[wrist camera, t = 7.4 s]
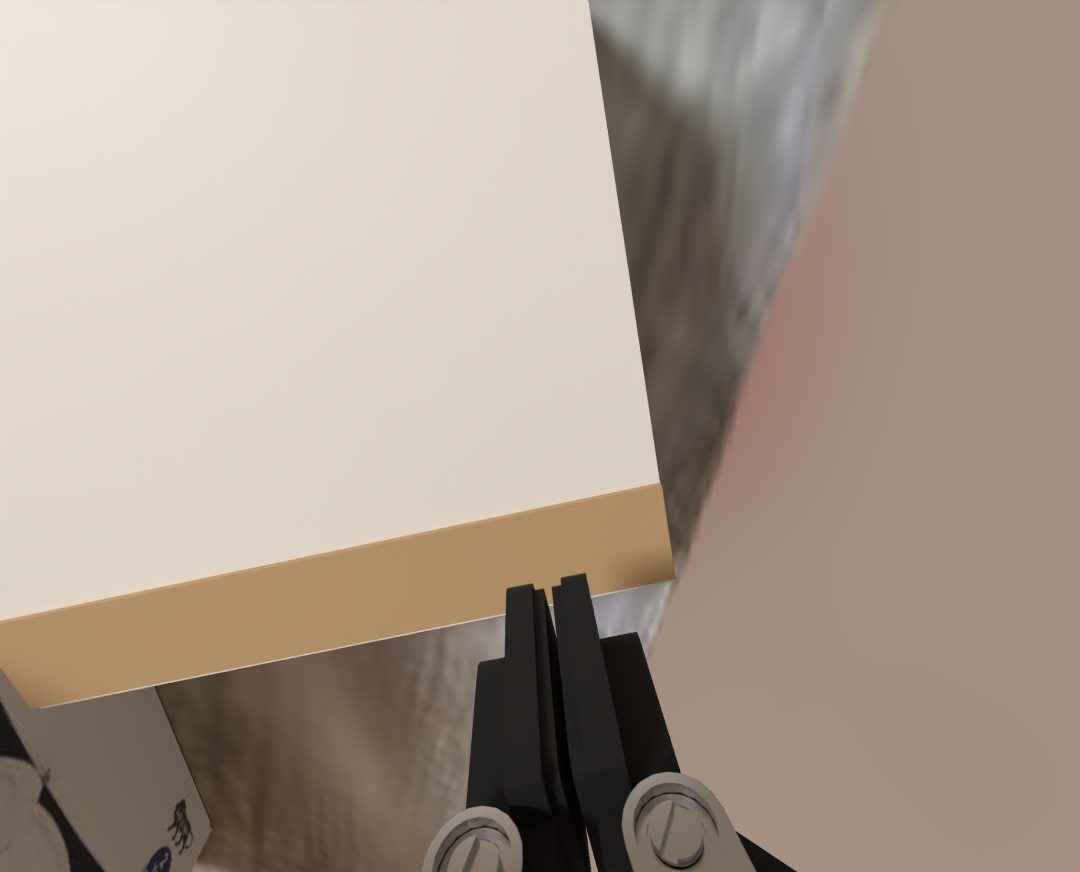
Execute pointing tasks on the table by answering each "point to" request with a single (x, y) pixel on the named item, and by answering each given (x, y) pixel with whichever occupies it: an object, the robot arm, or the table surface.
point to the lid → (305, 331)
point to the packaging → (95, 787)
